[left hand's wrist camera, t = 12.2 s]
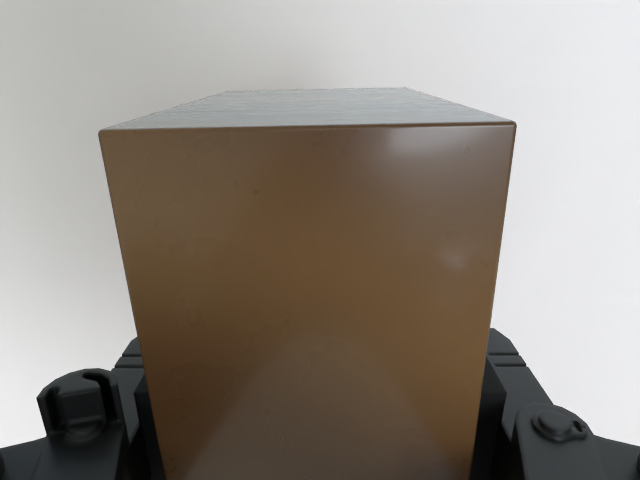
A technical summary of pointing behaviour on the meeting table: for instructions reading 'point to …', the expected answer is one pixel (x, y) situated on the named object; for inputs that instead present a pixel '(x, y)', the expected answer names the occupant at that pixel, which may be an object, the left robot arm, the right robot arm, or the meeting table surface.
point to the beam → (312, 279)
